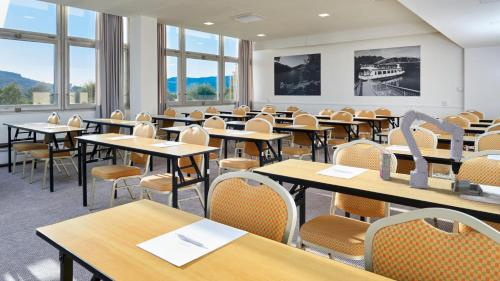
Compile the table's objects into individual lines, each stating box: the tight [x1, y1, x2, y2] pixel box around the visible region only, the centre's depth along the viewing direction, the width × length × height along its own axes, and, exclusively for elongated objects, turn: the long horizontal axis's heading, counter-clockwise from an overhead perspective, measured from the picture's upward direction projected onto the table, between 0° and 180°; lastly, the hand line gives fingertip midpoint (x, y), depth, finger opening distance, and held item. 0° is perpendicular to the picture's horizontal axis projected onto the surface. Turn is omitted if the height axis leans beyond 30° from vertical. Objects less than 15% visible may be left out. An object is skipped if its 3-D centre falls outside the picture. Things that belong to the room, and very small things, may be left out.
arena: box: [450, 181, 484, 197], centre depth 199 cm, size 13×12×3 cm
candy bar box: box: [379, 150, 392, 181], centre depth 232 cm, size 11×5×16 cm, turn 168°
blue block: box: [453, 178, 471, 193], centre depth 199 cm, size 4×7×6 cm, turn 67°
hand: (455, 172), depth 204 cm, fingers open, 7 cm apart
